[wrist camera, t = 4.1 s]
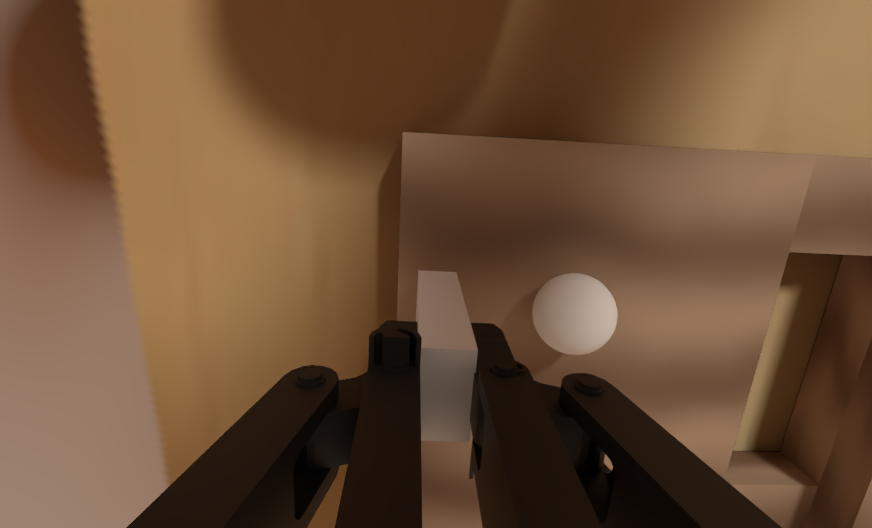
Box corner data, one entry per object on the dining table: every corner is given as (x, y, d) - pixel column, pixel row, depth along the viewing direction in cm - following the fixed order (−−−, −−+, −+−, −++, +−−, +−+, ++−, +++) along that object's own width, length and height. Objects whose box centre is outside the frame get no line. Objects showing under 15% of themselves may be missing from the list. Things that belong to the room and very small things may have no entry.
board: (404, 131, 19) (400, 131, 15) (965, 163, 21) (1110, 171, 16) (392, 504, 25) (386, 582, 21) (834, 510, 26) (916, 584, 22)
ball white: (528, 261, 19) (550, 287, 15) (603, 264, 19) (640, 290, 16) (520, 332, 19) (539, 369, 16) (592, 334, 20) (624, 371, 17)
